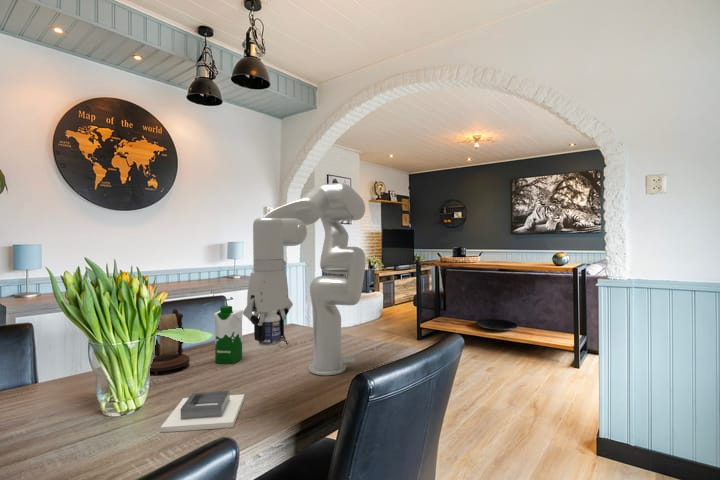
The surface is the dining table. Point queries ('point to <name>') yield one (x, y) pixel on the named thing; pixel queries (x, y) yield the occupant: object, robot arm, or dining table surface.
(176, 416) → the socket board
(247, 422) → the dining table surface
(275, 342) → the pill bottle
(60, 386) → the dining table surface
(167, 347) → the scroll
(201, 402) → the socket collar
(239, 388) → the dining table surface
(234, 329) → the milk carton
